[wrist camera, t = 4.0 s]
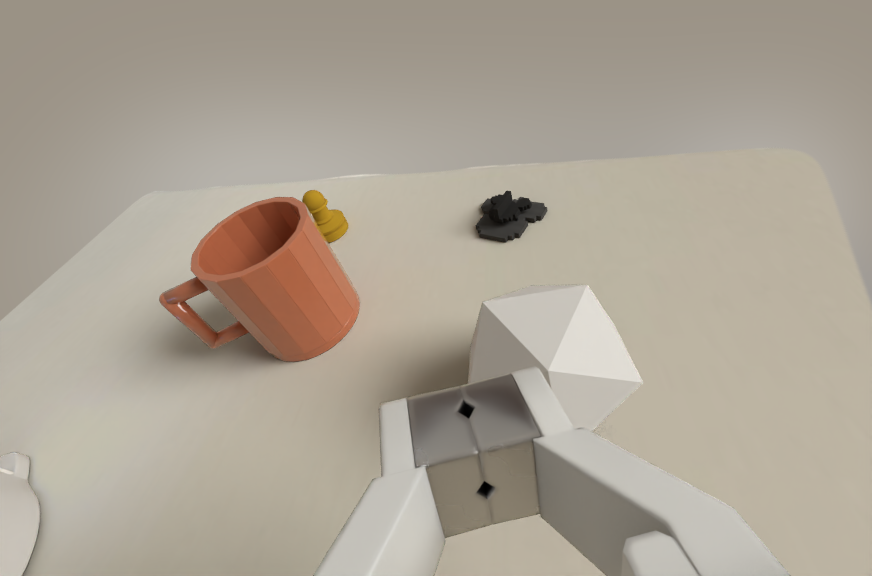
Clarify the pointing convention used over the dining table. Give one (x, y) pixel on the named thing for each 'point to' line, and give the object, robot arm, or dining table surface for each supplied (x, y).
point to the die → (556, 348)
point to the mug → (270, 282)
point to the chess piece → (325, 216)
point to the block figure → (508, 217)
